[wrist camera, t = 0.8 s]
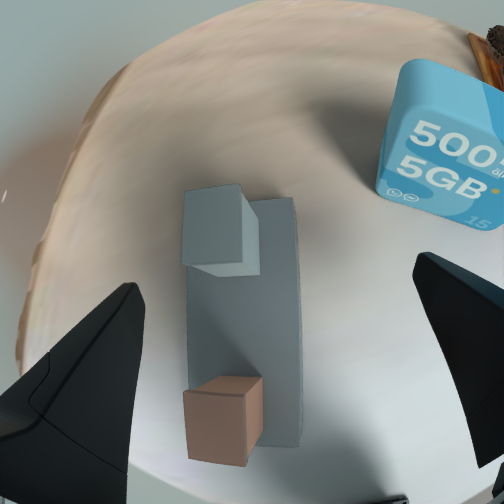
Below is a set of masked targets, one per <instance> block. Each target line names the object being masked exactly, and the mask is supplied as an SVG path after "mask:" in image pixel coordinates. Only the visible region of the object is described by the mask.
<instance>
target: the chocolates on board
mask: <svg viewBox="0 0 504 504" xmlns="http://www.w3.org/2000/svg"><path fill="white" fill-rule="evenodd" d="M489 29H490V31H488V34H487V37H486V38H487V39H486V40H485V39H483V38H481V37H479V36H476V35H474V34H472V33H469V34H468V39H469V41H470V44H471V46H472V48H473V51H474V53H475V56H476V58H477V61H478V64H479V66H480V69H481V72H482V75H483V78H484V81H485V83H486V84H488V85H490V86H492V87H494V88H496V89H498V90H500V91H502V92H504V26H500V25H496V26H495V27H493V28H489Z"/></svg>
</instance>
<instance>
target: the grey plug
mask: <svg viewBox="0 0 504 504" xmlns="http://www.w3.org/2000/svg"><path fill="white" fill-rule="evenodd" d="M181 264H182V265H185V266H193V267H195V268H198V269H200V270H202V271H205V272H207V273H210V274H212V275H214V276H217V277H231V276H250V275H260V254H259V220H258V218H257V216H256V214H255V213H254V211H253V210H252V208H251V206H250V205H249V203H248V202H247V200H246V198H245V197H244V195H243V194H242V188H241V186H240V184H239V183H237V184H229V185H222V186H216V187H209V188H202V189H196V190H190V191H185V196H184V211H183V229H182V252H181Z"/></svg>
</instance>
